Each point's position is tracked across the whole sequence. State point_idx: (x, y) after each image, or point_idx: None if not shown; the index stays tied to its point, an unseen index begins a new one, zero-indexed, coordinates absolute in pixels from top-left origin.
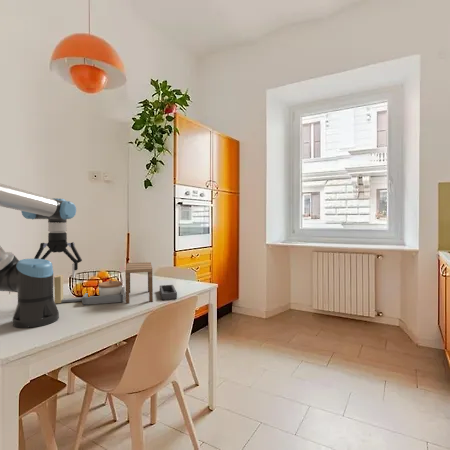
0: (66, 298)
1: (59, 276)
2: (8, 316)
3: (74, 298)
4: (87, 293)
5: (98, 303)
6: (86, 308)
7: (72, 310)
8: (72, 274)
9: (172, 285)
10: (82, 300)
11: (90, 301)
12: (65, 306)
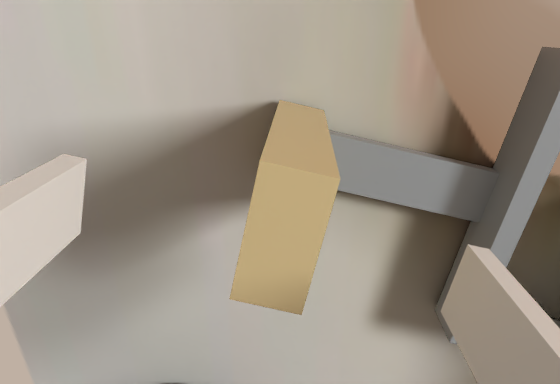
0: (348, 142)
1: (291, 277)
2: (29, 325)
3: (406, 176)
4: (519, 231)
5: None
6: (441, 378)
7: (360, 378)
8: (456, 339)
9: None
10: (443, 328)
11: None
12: (328, 277)
